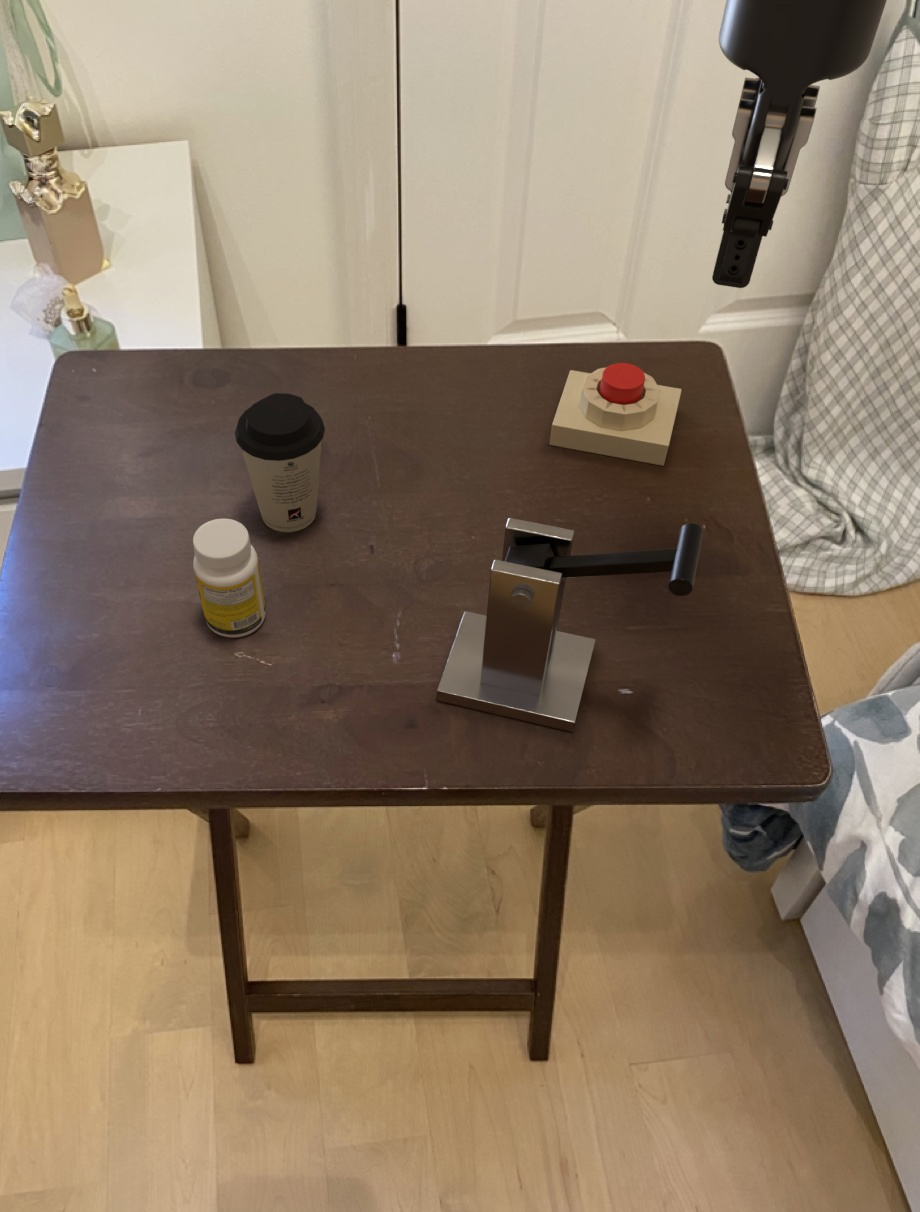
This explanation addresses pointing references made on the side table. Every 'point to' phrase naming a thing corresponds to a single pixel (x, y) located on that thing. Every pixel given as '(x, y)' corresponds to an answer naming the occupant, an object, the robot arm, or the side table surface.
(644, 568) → the lever
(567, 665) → the bracket
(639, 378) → the button
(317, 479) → the coffee cup
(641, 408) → the control block
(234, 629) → the supplement bottle
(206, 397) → the side table surface
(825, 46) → the robot arm
